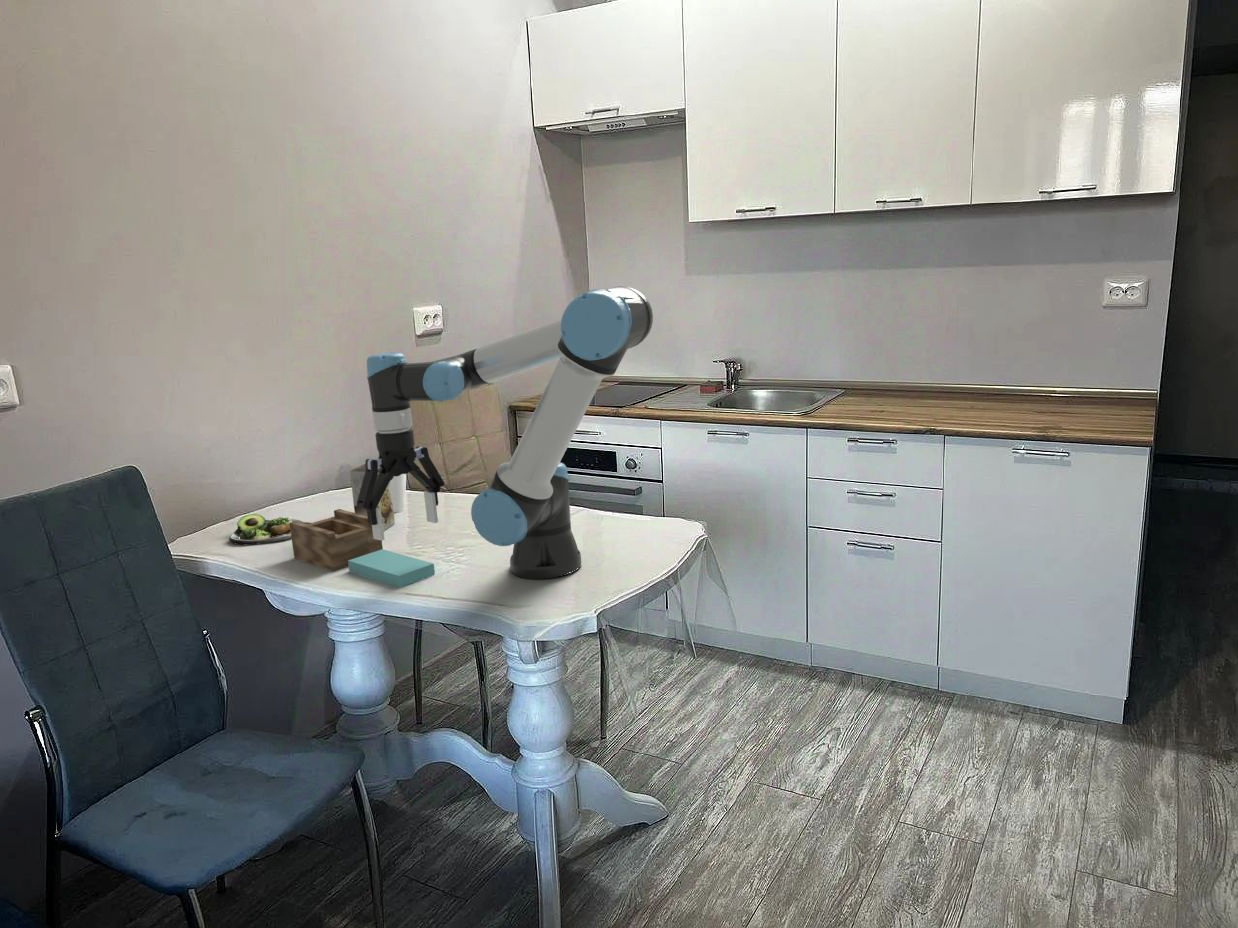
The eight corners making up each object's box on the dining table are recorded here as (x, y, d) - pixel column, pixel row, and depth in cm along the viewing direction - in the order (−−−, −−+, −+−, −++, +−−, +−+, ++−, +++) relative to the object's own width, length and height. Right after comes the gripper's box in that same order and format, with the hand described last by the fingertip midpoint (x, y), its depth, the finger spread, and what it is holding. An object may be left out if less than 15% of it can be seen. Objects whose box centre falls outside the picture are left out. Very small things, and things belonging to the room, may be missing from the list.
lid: (435, 576, 198) (433, 563, 197) (400, 589, 191) (398, 575, 190) (383, 561, 209) (382, 549, 208) (349, 573, 202) (347, 560, 202)
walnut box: (383, 554, 212) (379, 519, 210) (333, 571, 203) (328, 534, 201) (343, 543, 223) (339, 508, 221) (294, 558, 213) (289, 522, 211)
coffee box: (380, 534, 228) (373, 470, 224) (356, 534, 229) (348, 470, 226) (396, 523, 237) (389, 461, 233) (372, 523, 238) (365, 462, 234)
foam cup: (399, 503, 256) (394, 457, 253) (417, 508, 249) (412, 461, 246) (368, 511, 249) (362, 464, 247) (386, 516, 243) (381, 468, 240)
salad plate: (320, 521, 244) (318, 504, 242) (307, 541, 226) (305, 523, 225) (244, 527, 241) (241, 510, 240) (225, 548, 224) (222, 530, 223)
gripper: (431, 417, 200) (442, 512, 205) (329, 440, 182) (344, 544, 186) (453, 420, 195) (464, 517, 200) (351, 443, 177) (366, 549, 181)
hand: (406, 530), depth 193 cm, fingers open, 13 cm apart
